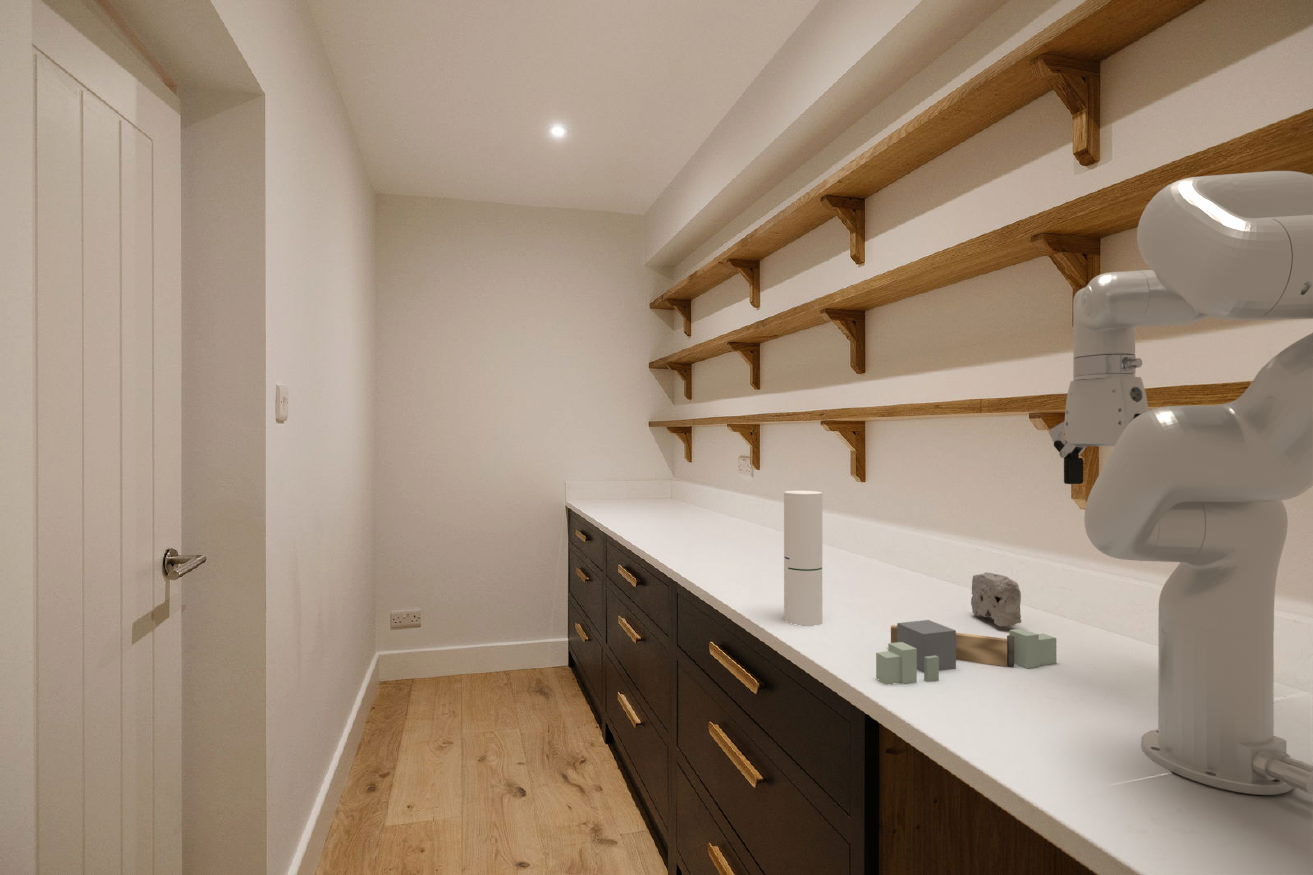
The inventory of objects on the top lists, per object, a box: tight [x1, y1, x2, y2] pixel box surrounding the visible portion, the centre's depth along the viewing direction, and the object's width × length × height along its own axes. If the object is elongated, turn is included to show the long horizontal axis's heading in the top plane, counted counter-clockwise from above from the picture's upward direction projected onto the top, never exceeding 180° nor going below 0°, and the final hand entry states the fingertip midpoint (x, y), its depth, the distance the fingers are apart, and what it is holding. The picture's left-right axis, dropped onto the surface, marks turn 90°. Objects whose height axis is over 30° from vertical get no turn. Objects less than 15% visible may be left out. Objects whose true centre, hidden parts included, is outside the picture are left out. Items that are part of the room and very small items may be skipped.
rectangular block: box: [896, 619, 957, 674], centre depth 101 cm, size 6×6×6 cm
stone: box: [970, 572, 1022, 627], centre depth 123 cm, size 13×6×10 cm, turn 173°
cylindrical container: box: [783, 490, 823, 627], centre depth 123 cm, size 7×7×25 cm
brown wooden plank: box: [890, 624, 1015, 668], centre depth 104 cm, size 18×3×5 cm, turn 65°
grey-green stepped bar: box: [875, 628, 1057, 685], centre depth 98 cm, size 3×31×5 cm, turn 107°
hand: (1103, 486), depth 95 cm, fingers open, 9 cm apart
